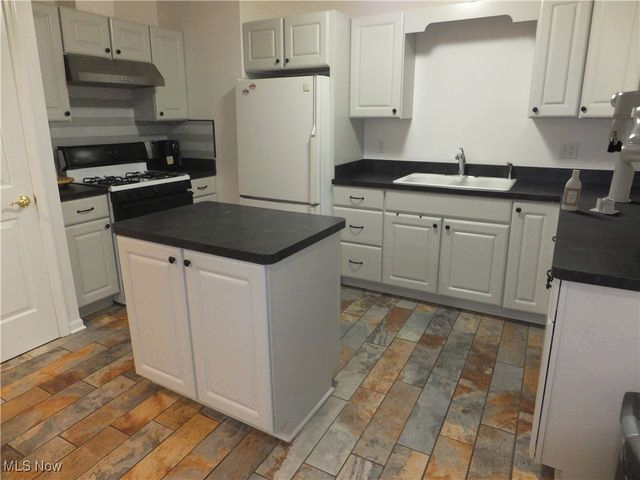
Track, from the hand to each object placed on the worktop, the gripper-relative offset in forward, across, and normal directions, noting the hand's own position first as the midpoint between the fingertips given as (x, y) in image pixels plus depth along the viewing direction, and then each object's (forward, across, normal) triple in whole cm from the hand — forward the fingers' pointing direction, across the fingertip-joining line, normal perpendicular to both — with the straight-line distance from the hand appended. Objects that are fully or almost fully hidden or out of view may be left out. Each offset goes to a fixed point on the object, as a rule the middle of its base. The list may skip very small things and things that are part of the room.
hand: (614, 152), depth 223 cm
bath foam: (+28, +28, -6) cm, 40 cm away
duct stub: (+28, +16, +6) cm, 33 cm away
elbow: (+28, +18, +7) cm, 34 cm away
